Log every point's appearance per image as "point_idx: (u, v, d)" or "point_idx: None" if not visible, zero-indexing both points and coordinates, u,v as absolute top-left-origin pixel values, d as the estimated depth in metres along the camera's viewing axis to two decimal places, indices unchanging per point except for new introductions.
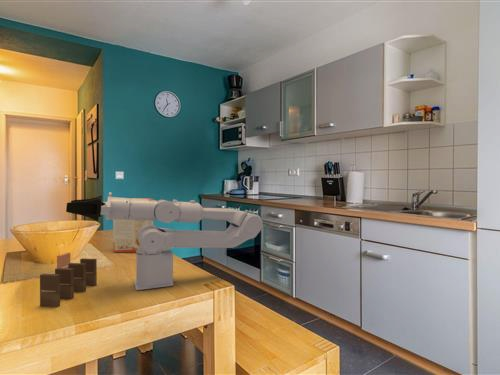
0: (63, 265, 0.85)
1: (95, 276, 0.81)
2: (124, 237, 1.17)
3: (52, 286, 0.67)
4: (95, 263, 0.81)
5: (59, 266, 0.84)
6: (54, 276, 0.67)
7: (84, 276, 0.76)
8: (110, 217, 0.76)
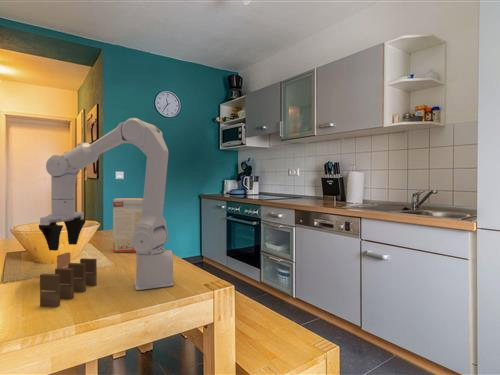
0: (63, 265, 0.85)
1: (95, 276, 0.81)
2: (124, 237, 1.17)
3: (52, 286, 0.67)
4: (95, 263, 0.81)
5: (59, 266, 0.84)
6: (54, 276, 0.67)
7: (83, 276, 0.76)
8: (66, 214, 0.84)
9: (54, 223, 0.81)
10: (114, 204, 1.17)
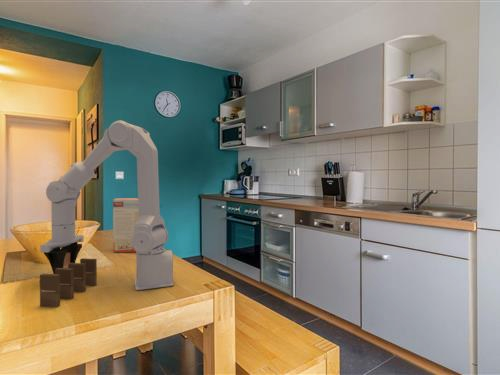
0: (63, 265, 0.85)
1: (95, 276, 0.81)
2: (124, 237, 1.17)
3: (52, 286, 0.67)
4: (95, 263, 0.81)
5: None
6: (54, 276, 0.67)
7: (84, 276, 0.76)
8: (66, 240, 0.84)
9: (58, 248, 0.83)
10: (114, 204, 1.17)
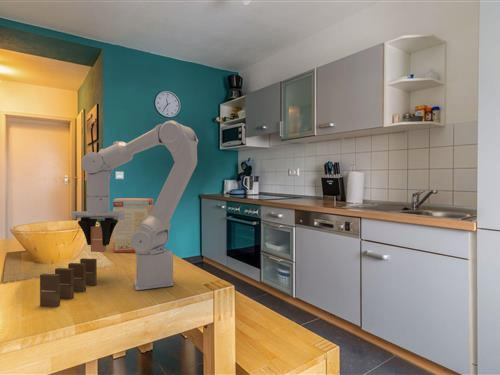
0: None
1: (95, 276, 0.81)
2: (124, 237, 1.17)
3: (52, 286, 0.67)
4: (95, 263, 0.81)
5: None
6: (54, 276, 0.67)
7: (83, 276, 0.76)
8: None
9: None
10: (114, 204, 1.17)
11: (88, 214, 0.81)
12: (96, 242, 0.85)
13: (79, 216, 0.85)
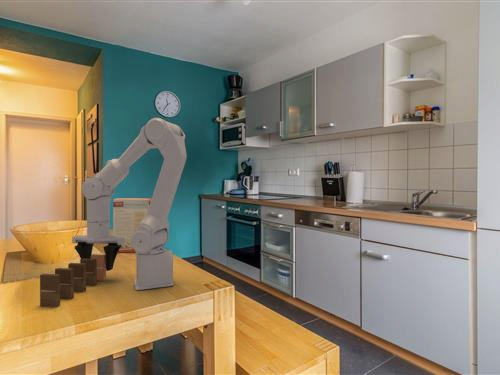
0: None
1: (95, 276, 0.81)
2: None
3: (52, 286, 0.67)
4: (95, 263, 0.81)
5: (105, 265, 0.86)
6: (54, 276, 0.67)
7: (84, 276, 0.76)
8: None
9: None
10: (114, 204, 1.17)
11: (88, 240, 0.81)
12: None
13: (79, 241, 0.86)
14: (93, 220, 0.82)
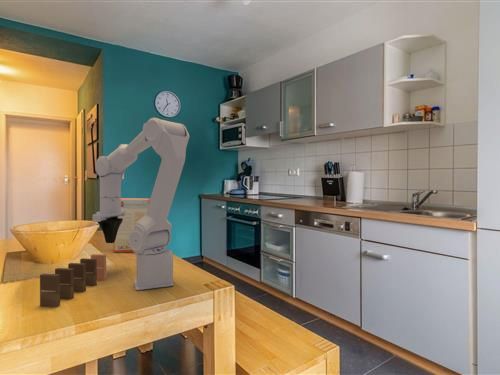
0: None
1: (95, 276, 0.81)
2: (124, 237, 1.17)
3: (52, 286, 0.67)
4: (95, 263, 0.81)
5: (105, 265, 0.86)
6: (54, 276, 0.67)
7: (84, 276, 0.76)
8: (114, 212, 0.89)
9: (111, 218, 0.90)
10: None
11: None
12: None
13: None
14: (103, 196, 0.88)
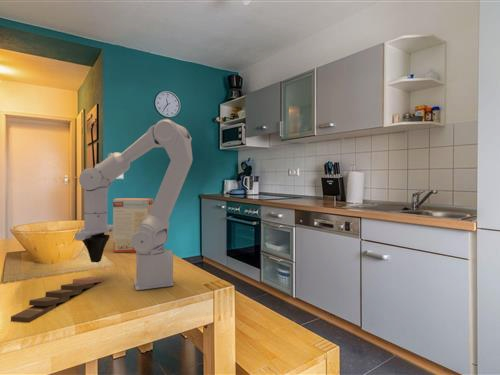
0: (90, 278, 0.81)
1: (88, 286, 0.78)
2: (124, 237, 1.17)
3: None
4: (79, 287, 0.74)
5: (94, 279, 0.80)
6: None
7: (70, 294, 0.71)
8: (99, 228, 0.82)
9: (96, 235, 0.83)
10: (114, 204, 1.17)
11: None
12: None
13: None
14: (91, 211, 0.81)
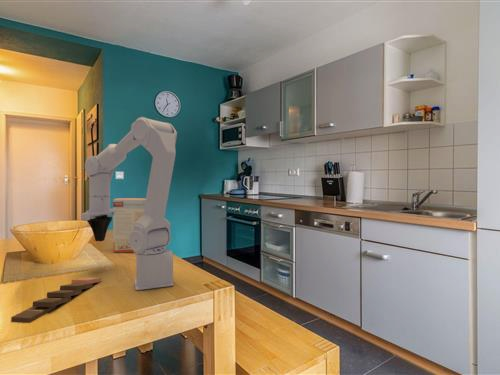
0: (89, 279, 0.80)
1: (87, 286, 0.77)
2: (124, 237, 1.17)
3: None
4: (78, 287, 0.74)
5: (93, 280, 0.80)
6: (27, 322, 0.60)
7: (72, 294, 0.71)
8: (103, 210, 0.91)
9: (100, 217, 0.92)
10: (114, 204, 1.17)
11: None
12: None
13: None
14: (92, 195, 0.90)
